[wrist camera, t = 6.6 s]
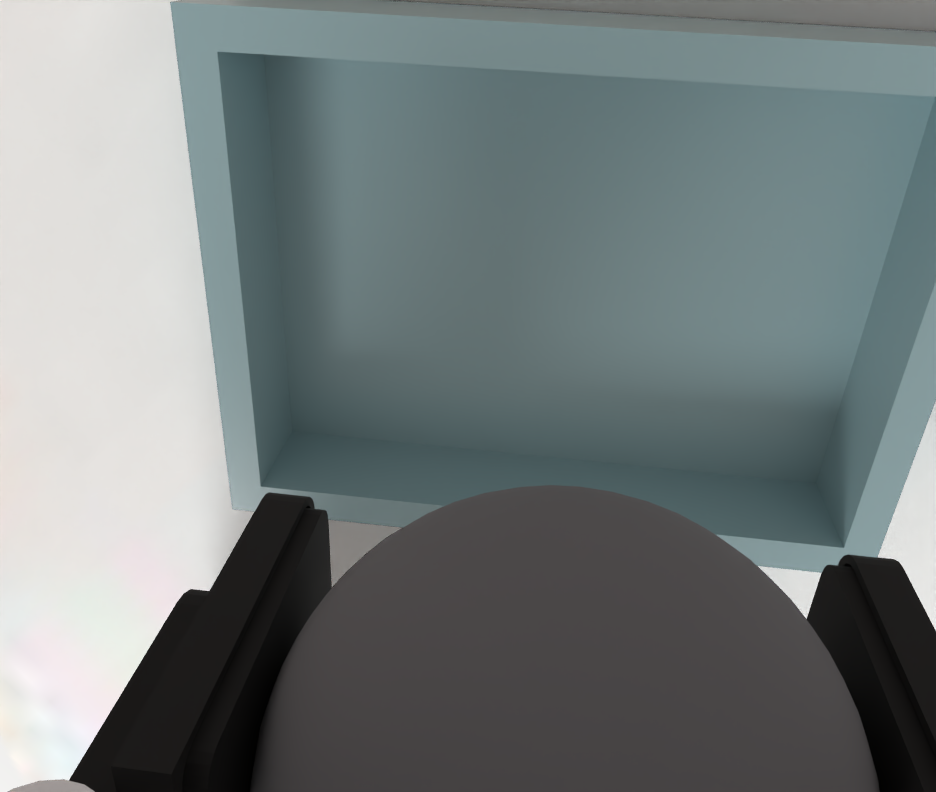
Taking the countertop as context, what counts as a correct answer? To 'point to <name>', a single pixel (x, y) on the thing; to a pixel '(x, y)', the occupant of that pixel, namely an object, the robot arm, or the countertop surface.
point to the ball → (559, 663)
